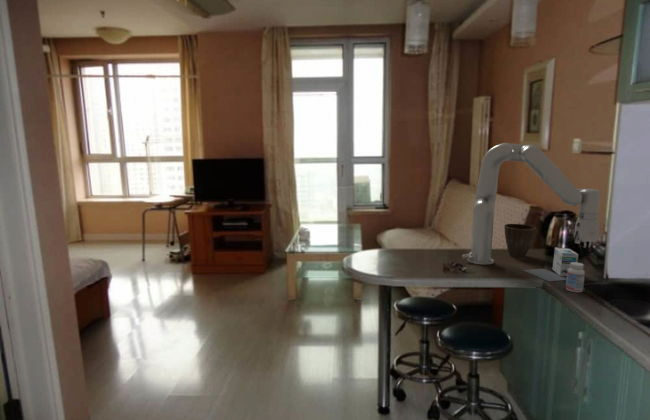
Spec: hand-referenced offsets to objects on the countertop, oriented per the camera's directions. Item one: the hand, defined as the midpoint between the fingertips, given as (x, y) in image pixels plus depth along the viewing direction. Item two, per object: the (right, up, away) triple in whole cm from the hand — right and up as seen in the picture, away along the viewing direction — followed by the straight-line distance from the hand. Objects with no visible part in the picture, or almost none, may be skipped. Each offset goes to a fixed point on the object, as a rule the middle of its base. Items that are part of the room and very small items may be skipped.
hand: (583, 255), depth 189 cm
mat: (-19, -9, -3) cm, 21 cm away
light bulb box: (-10, -8, -1) cm, 13 cm away
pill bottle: (-18, -12, -22) cm, 31 cm away
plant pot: (-17, -4, +29) cm, 33 cm away
